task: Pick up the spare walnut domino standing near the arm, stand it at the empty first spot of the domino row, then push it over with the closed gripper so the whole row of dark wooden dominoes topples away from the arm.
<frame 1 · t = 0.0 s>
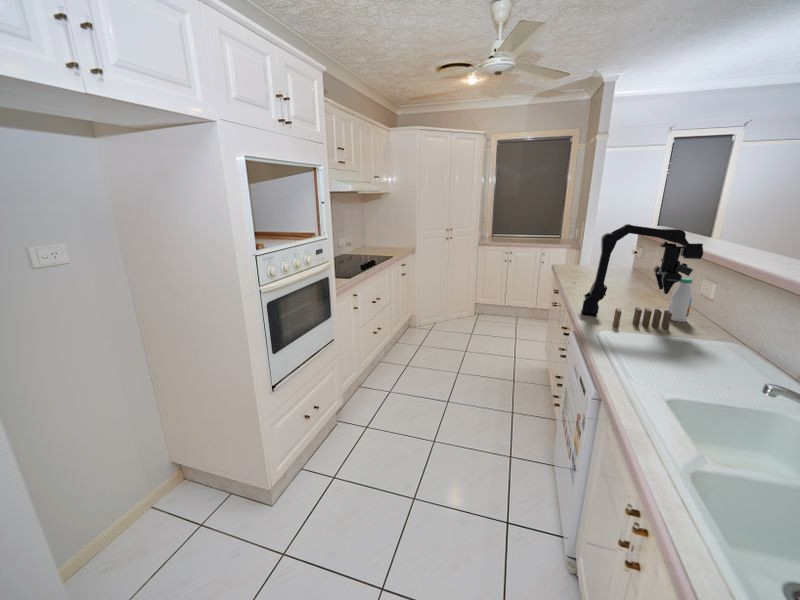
hand: (663, 291, 161), 15 cm above the table, tool pointing down, fingers open, 9 cm apart
domino 3: (654, 326, 159), on the table
domino 4: (664, 327, 157), on the table
domino 2: (645, 325, 160), on the table
domino 1: (635, 324, 162), on the table
milk bottle: (676, 320, 168), on the table
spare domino: (615, 325, 160), on the table
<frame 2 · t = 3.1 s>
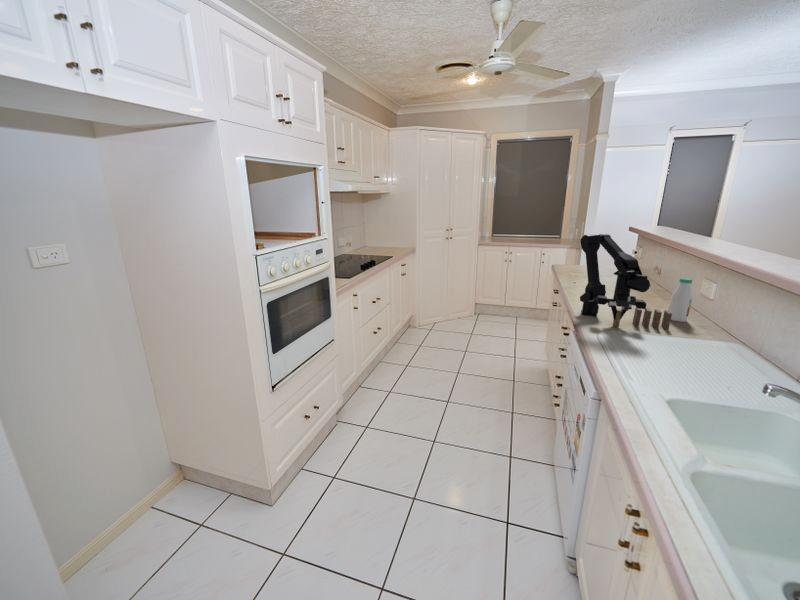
hand: (616, 320, 159), 3 cm above the table, tool pointing down, fingers closed on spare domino, 2 cm apart
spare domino: (615, 325, 160), on the table, touching gripper
everything else where it was.
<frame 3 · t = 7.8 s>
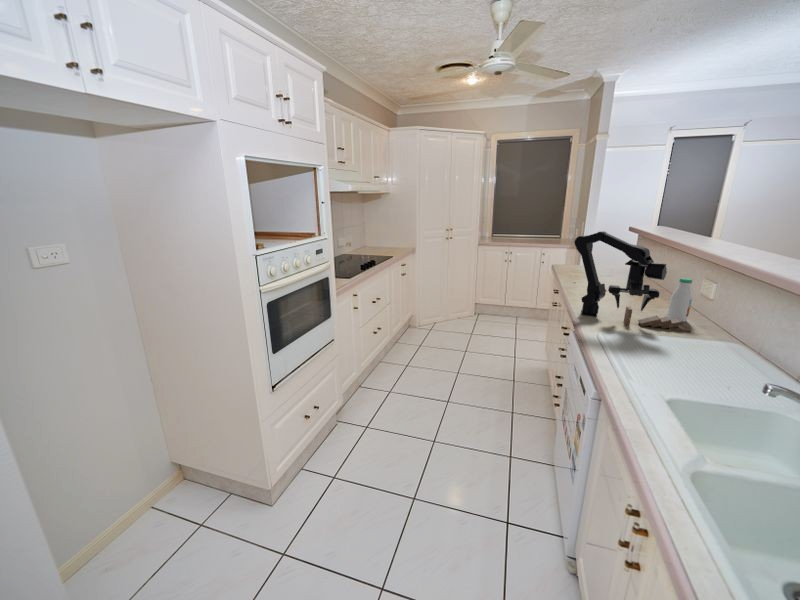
hand: (629, 309, 161), 7 cm above the table, tool pointing down, fingers open, 9 cm apart
domino 3: (660, 325, 158), point 1 cm above the table, tilted 68°, touching domino 2
domino 4: (667, 327, 157), on the table, tilted 90°
domino 2: (649, 324, 159), point 1 cm above the table, tilted 66°, touching domino 1, domino 3
domino 1: (640, 323, 161), point 1 cm above the table, tilted 66°, touching domino 2
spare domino: (626, 323, 162), on the table
everything else where it was.
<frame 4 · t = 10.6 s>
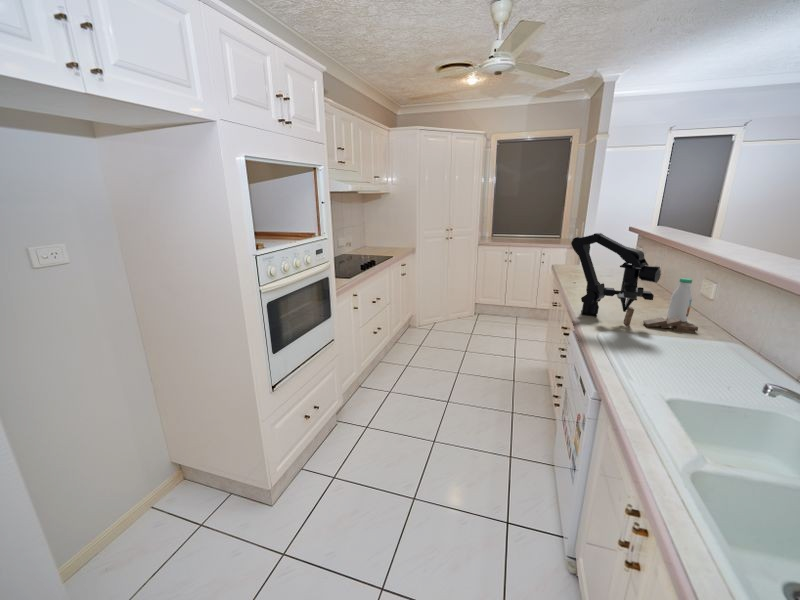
hand: (624, 311, 162), 5 cm above the table, tool pointing down, fingers closed
domino 3: (674, 325, 156), point 2 cm above the table, tilted 90°, touching domino 2, domino 4
domino 4: (672, 328, 156), on the table, tilted 90°, touching domino 3
domino 2: (660, 325, 158), point 1 cm above the table, tilted 63°, touching domino 1, domino 3
domino 1: (645, 324, 160), point 1 cm above the table, tilted 71°, touching domino 2
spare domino: (626, 323, 162), on the table, tilted 5°
everything else where it was.
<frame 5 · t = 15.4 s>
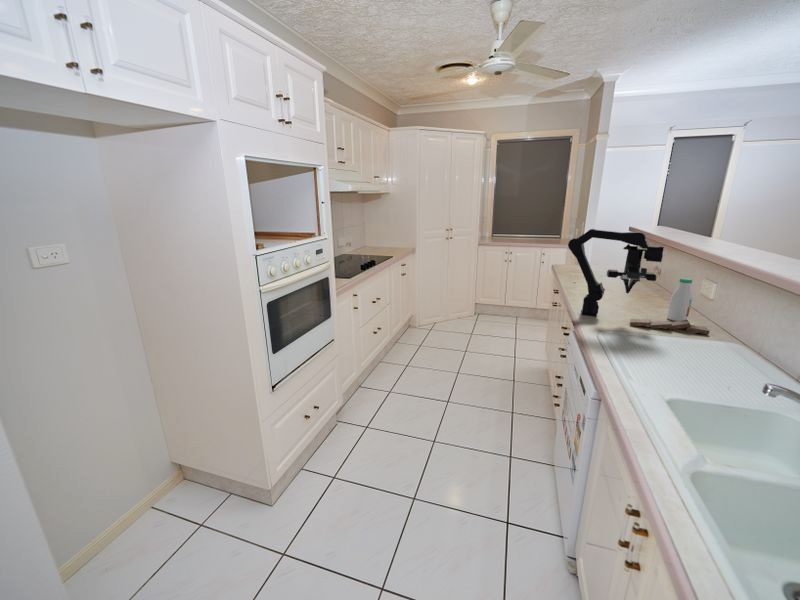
hand: (627, 293, 164), 13 cm above the table, tool pointing down, fingers closed
domino 3: (685, 327, 153), point 2 cm above the table, tilted 92°, touching domino 2, domino 4
domino 4: (673, 329, 156), on the table, tilted 90°, touching domino 2, domino 3
domino 2: (667, 326, 157), point 1 cm above the table, tilted 67°, touching domino 1, domino 3, domino 4
domino 1: (650, 325, 158), point 1 cm above the table, tilted 75°, touching domino 2, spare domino
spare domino: (630, 322, 162), point 1 cm above the table, tilted 79°, touching domino 1
everything else where it was.
at the end: domino 4 tilted 90°; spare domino inside the target area (0.9 cm from its centre), point 0.8 cm above the table; the gripper is holding nothing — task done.
